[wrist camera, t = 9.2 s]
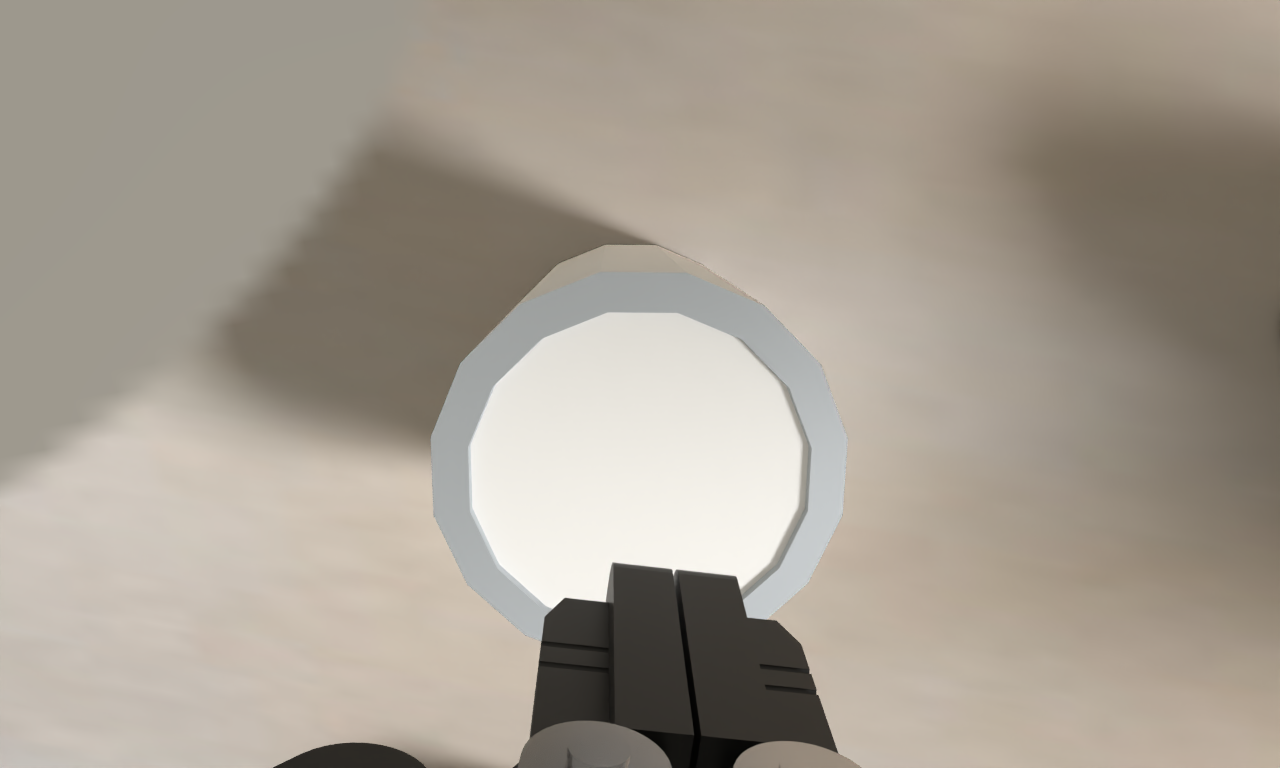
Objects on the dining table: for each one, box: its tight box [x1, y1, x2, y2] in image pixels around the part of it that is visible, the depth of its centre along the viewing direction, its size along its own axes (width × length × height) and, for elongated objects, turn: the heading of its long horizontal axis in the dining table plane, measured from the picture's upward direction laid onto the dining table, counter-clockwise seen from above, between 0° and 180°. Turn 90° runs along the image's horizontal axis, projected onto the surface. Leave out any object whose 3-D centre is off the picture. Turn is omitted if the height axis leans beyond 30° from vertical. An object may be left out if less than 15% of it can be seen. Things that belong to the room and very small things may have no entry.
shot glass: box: [431, 245, 848, 641], centre depth 21 cm, size 7×7×7 cm
